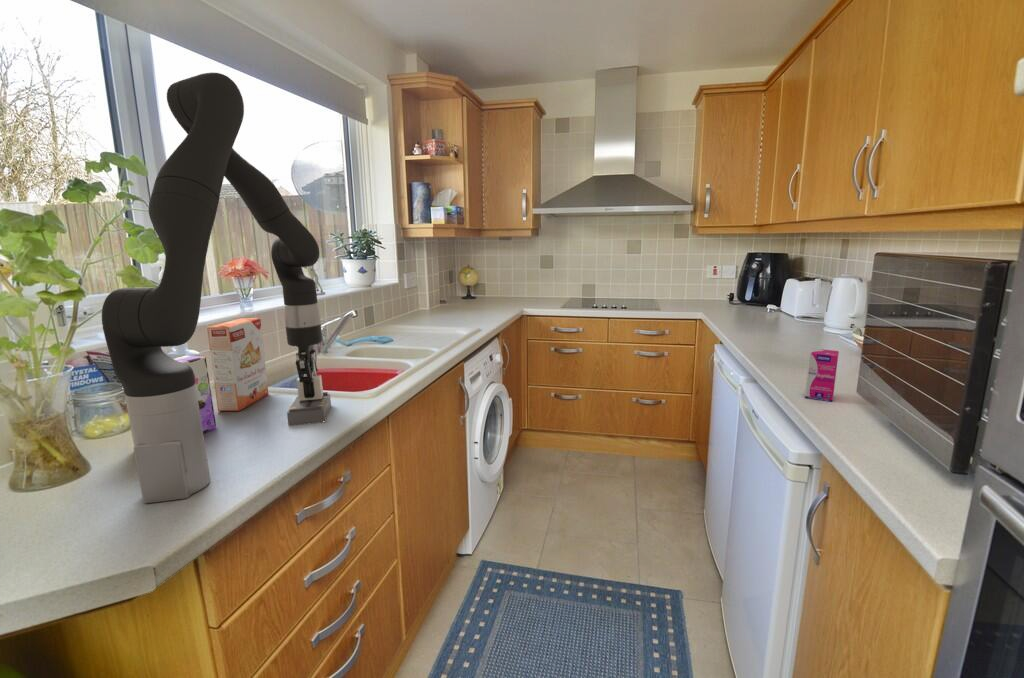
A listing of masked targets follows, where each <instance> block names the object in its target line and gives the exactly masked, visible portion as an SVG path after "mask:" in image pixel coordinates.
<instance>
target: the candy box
mask: <svg viewBox="0 0 1024 678" xmlns="http://www.w3.org/2000/svg"><path fill="white" fill-rule="evenodd" d="M173 359H174V360H176V361H178V362H181V363H184V364H187V365H189V366H190V367H191V368H192V370H193V372H194V378H195V384H196V391H197V397H198V404H199V411H200V417H201V423H202V430H203V434H204V433H208V432H211V431H212V430H215V429H216V428H217V423H216V416H215V409H214V403H213V398H212V390H211V384H210V377H209V371H208V363H207V358H206V356H201V355H199V356H198V355H197V356H196V355H183V356H182V355H181V356H179V357H175V358H173Z"/></svg>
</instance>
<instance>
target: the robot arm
mask: <svg viewBox="0 0 1024 678" xmlns="http://www.w3.org/2000/svg"><path fill="white" fill-rule="evenodd" d="M166 102H167V104H168V108H169V111H170V112H171V114H172V116H173V117H174V119H175V120H176V122H177V123H178V124H179V125H180V126H181V128H182V129H183V130H184V132H185V133H186V134H187V135H186V137H185V138H184V139H183V140H182V141H181V142H180V144H179V145H178V146H177V147H176V148H175V150H174V151H173V152H172V153H171V154H170V155H169V157H168V158H167V159H166V161H165V162H164V163H163V165H162V166H161V168H160V169H159V171H158V173H157V176H156V178H155V180H154V182H153V183H154V184H153V188H152V191H151V194H150V199H149V201H148V215H149V219H150V222H151V224H152V227H153V228H154V231H155V233H156V235H157V237H158V239H159V241H160V243H161V245H162V248H163V251H164V257H165V261H164V269H163V272H162V277H161V281H160V283H159V284H158V286H149V287H147V286H141V287H140V286H139V287H122V288H117V289H114V290H113V291H111V292H110V293H109V294H108V295H107V296H106V298H105V300H104V301H103V304H102V309H101V323H102V324H101V326H102V330H103V335H104V339H105V342H106V347H107V350H108V354H109V357H110V362H111V365H112V366H111V367H112V369H113V372H114V375H115V377H116V379H117V380H118V381H119V382H120V383H121V385H122V389H123V393H124V399H125V404H126V410H127V414H128V421H129V427H130V431H131V437H132V441H133V442H132V443H133V452H134V458H135V464H136V467H137V474H138V479H139V484H140V490H141V495H142V500H143V504H150V503H151V504H152V503H159V502H166V501H174V500H175V501H177V500H183V499H189V497H190V496H191V495H193V494H194V493H197V492H199V491H201V490H203V488H205V487H207V486H208V484H209V483H210V482H211V474H210V469H209V468H210V467H209V462H208V457H207V450H206V443H205V442H206V441H205V438H204V437H205V436H204V433H203V430H202V423H201V417H200V411H199V404H198V397H197V391H196V384H195V378H194V372H193V370H192V368H191V367H190V366H189V365H187V364H184V363H181V362H178V361H176V360H174V358H172V357H171V356H168V354H166V353H165V352H164V351H163V349H162V347H163V348H164V347H178V346H183V345H185V344H186V343H188V341H190V340H191V339H192V337H193V335H194V333H195V332H196V329H197V325H198V322H199V318H200V317H199V316H200V310H201V300H202V291H203V280H204V273H205V272H204V271H205V264H206V259H207V254H208V249H209V245H210V239H211V234H212V230H213V227H214V224H215V221H216V217H217V212H218V211H217V210H218V207H219V204H220V196H221V191H222V187H223V182H224V178H225V179H226V180H227V181H228V182H229V183H230V184H231V186H232V187H233V189H234V190H235V191H236V193H237V195H239V197H240V198H241V199H242V201H243V202H244V204H245V206H246V208H247V209H248V211H250V213H251V215H252V216H253V218H254V220H255V221H256V223H257V224H258V226H259V227H260V228H261V229H262V230H263V232H265V233H268V234H272V235H274V236H276V238H275V239H274V240H273V242H272V245H271V247H270V255H271V260H272V264H273V267H274V269H275V271H276V275H277V278H278V280H279V282H280V284H281V287H282V296H283V304H284V308H283V309H284V312H283V314H284V324H285V332H286V340H287V341H286V342H287V345H289V346H291V347H297V352H296V354H295V366H296V369H297V375H298V378H299V381H300V382H302V383H303V389H304V397H305V398H313V397H314V396H315V392H314V383H313V380H314V378H313V376H317V375H318V374H317V373H318V370H319V369H318V362H317V361H318V350H317V348H314V346H315V345H318V344H321V343H322V342H323V332H322V323H321V321H322V320H321V314H320V313H321V312H320V307H319V305H318V304H319V303H318V294H317V286H316V282H315V280H314V279H313V278H310V277H308V276H306V275H305V273H304V271H303V268H308V267H312V266H314V265H315V264H316V263H317V262H318V261H319V259H320V247H319V245H318V244H319V243H318V242H317V241H316V238H315V237H314V235H313V234H312V233H311V232H310V231H309V230H308V228H306V226H305V225H304V224H303V223H302V222H301V221H300V219H298V218H297V217H296V216H295V215H294V214H293V213H292V211H291V210H290V208H289V205H288V204H287V202H286V200H284V198H283V196H282V194H281V192H280V190H279V189H278V188H277V187H276V185H275V184H274V183H273V182H272V180H271V179H269V177H267V175H266V174H264V173H262V171H260V170H259V169H258V168H257V167H255V166H253V165H252V164H251V163H250V162H249V161H247V159H245V158H244V157H242V156H241V155H240V154H239V153H238V152H237V150H235V149H234V148H233V147H234V144H235V141H236V140H237V136H238V135H239V131H240V130H241V126H242V123H243V120H244V115H245V106H244V105H245V103H244V99H243V95H242V93H241V90H240V88H239V87H238V85H237V84H236V82H235V81H234V80H233V79H232V78H230V77H229V76H227V75H226V74H223V73H220V72H205V73H201V74H200V73H199V74H197V75H193V76H191V77H188V78H187V77H186V78H185V79H182V80H178V81H176V82H173V83H172V84H171V85H169V87H168V88H167V91H166ZM304 376H307V377H304Z"/></svg>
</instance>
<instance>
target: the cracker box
mask: <svg viewBox="0 0 1024 678" xmlns="http://www.w3.org/2000/svg"><path fill="white" fill-rule="evenodd" d="M206 330H207V331H206V332H207V338H208V346H209V354H210V361H211V362H210V363H211V367H212V368H211V370H212V375H213V383H214V384H213V385H214V392H215V401H216V405H217V411H218V412H219V411H220V412H240V411H242V410H243V409H245V408H247V407H249V406H250V405H252V404H254V403H255V402H257V401H259V400H261V399H262V398H264V397H266V396H267V395H269V387H268V378H267V369H266V368H267V366H266V359H265V358H266V357H265V351H264V350H265V349H264V339H263V332H262V330H263V329H262V321H261V318H259V317H246V318H245V317H243V318H241V317H240V318H237V319H233V320H230V321H225V322H221V323H217V324H214V325H210V326H207V327H206Z"/></svg>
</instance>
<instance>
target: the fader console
mask: <svg viewBox="0 0 1024 678" xmlns="http://www.w3.org/2000/svg"><path fill="white" fill-rule="evenodd" d="M331 407H332V400H331V394H330V393H329V392H328V391H323V397H322V399H315V400H303V401H299V397H298V396H296V397H295V399H294V400H293V402H292V404H291V406H290V407H289V409H288V410H287V412H286V416H287V417H286V418H287V424H288V425H287V426H289V427H290V426H299V424H300V425H307V424H308V423H310V424H318V423H317V422H321V423H324V422H323V421H325V422H326V420H325V419H327V418H328V415H329V412H330V410H331ZM329 409H330V410H329ZM327 414H328V415H327ZM326 417H327V418H326ZM308 425H309V424H308Z"/></svg>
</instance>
